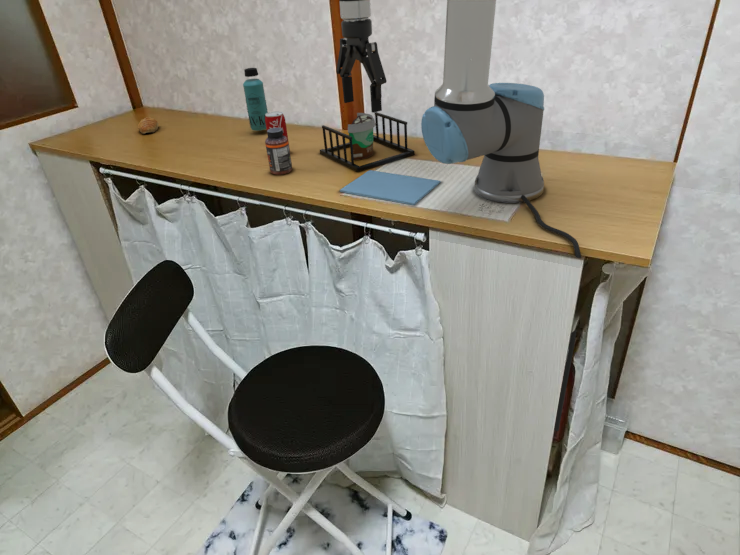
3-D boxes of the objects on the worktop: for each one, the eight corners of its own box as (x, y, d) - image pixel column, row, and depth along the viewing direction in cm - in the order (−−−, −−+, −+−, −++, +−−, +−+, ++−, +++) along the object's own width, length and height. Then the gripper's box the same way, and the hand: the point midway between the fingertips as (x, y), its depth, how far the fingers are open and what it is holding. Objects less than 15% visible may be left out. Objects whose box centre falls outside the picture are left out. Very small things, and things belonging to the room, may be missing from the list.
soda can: (272, 158, 151) (265, 116, 144) (270, 152, 155) (262, 111, 149) (291, 155, 152) (285, 113, 145) (288, 150, 156) (282, 108, 150)
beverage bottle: (250, 131, 176) (238, 67, 165) (270, 128, 177) (259, 65, 167) (252, 136, 170) (240, 71, 160) (272, 133, 172) (262, 68, 161)
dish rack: (414, 154, 145) (413, 123, 141) (357, 172, 137) (354, 139, 133) (373, 138, 160) (372, 110, 155) (319, 153, 152) (316, 124, 147)
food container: (372, 162, 143) (370, 125, 137) (350, 161, 144) (347, 125, 139) (381, 146, 153) (379, 112, 148) (360, 146, 154) (357, 112, 149)
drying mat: (440, 182, 127) (440, 180, 127) (414, 205, 117) (413, 203, 117) (369, 171, 137) (369, 169, 136) (339, 191, 127) (339, 189, 127)
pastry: (158, 133, 182) (155, 121, 180) (138, 136, 180) (134, 125, 178) (159, 126, 189) (156, 115, 187) (139, 129, 188) (136, 118, 186)
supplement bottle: (268, 170, 143) (260, 128, 137) (289, 165, 145) (283, 124, 139) (272, 177, 138) (265, 134, 132) (295, 172, 140) (288, 130, 134)
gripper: (398, 20, 123) (401, 112, 134) (342, 14, 141) (349, 95, 152) (371, 25, 120) (377, 118, 131) (318, 17, 137) (327, 101, 149)
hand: (362, 106), depth 142 cm, fingers open, 13 cm apart
